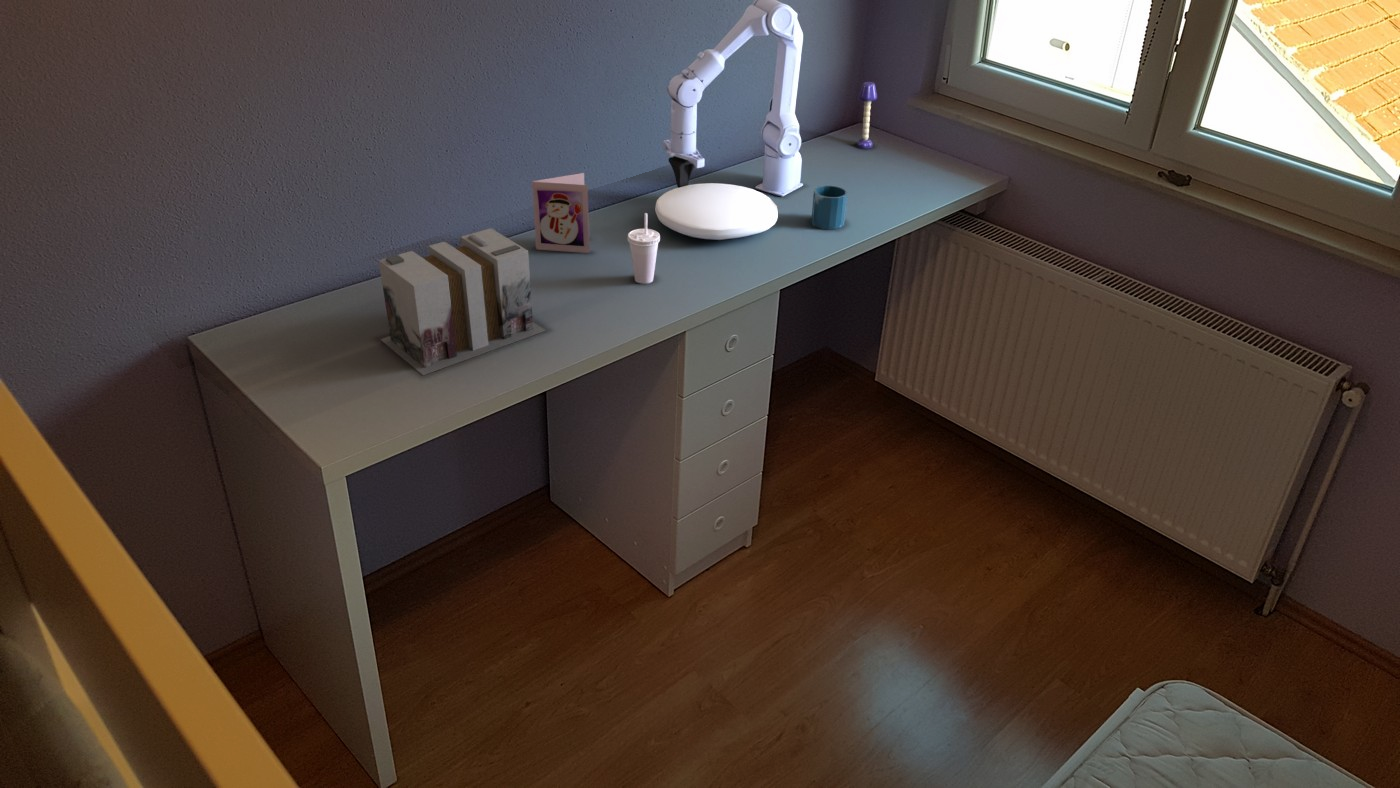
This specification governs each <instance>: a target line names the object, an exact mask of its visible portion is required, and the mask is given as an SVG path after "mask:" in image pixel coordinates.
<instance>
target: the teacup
mask: <svg viewBox="0 0 1400 788" xmlns="http://www.w3.org/2000/svg"><path fill="white" fill-rule="evenodd" d="M847 199H848V190H846V189H845V188H844V187H842V186H837V185H831V184H830V185H825V184H824V185H820V186H817V187H815V188H814V190H813V195H812V210H811V219H810V220H811V221H810V222H811V225H812V226H814V227H816V228H818V229H821V230H826V231H827V230H828V231H833V230H839V229H841V228H843V227H844V225H845V221H846V213H847V212H846V211H847V201H848V200H847Z"/></svg>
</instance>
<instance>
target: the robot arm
mask: <svg viewBox="0 0 1400 788" xmlns="http://www.w3.org/2000/svg"><path fill="white" fill-rule="evenodd" d="M798 16H799V15H798V12H796V11H795V9H793V8H792V7H791V6H790V5H788V4H786V3H783V2H781V1H780V0H779V1H778V0H754V1H753V3H752V4H750V5H748V7H746V9H745V11H744V13H743V15H742V17H740V19H739V20H738V21H737V22H736V23H735V25H734V26H733V27H732V28H731V29H730V30H729V31H728V33H726V35H725V36H724V37H723V38H722V39H721V40H720V42H719V43H718V44H717V45H716V46H715V47H714V48H712V49H711V48H710V49H708V48H707V49H705V50H703V51H699V52H698V53H697V55H696V56H697V58H696V59H695V60H694V61H693V62H692V63H691V64H690V65H689V66H688V67H687V68H684V69H683V70H681V73H680V74H677V75H675V76H673V77H672V78H671V79H670V81H669V84H668V86H667V87H666V92H667V94H668V96H669V97H670V99H671V101H670V105H671V106H670V108H671V110H670V139H665V140H663V141H662V149H663V150H664V151H666V155H667V156H669V157H668V163H669V165H670V166H671V168H672V171H673V174H674V178H675V183H676V186H677V187H676V188H679V187H683V186H687V185H690V180H691V177H692V175H693V172H694V170H695V169H699V168H704V167H705V161H706V160H705V158H704V157H703V156H702V155H701V153H700V152H699V150H698V149H697V127H698V126H697V125H698V117H697V116H698V103H699V102H700V101H701V99H702V97H703V92H704V91H705V89H706V88H707V87H708V86H709V85H710V84H711V83H712V82H713V81H714V80H715V79H716V78H717V77H718V76H719V75H720V74H721V73H722V72H723V71H724V70H725V62H726V60H727V59H729V57H731V56H732V55H733V54H734V53H735V52H736V51H738V50H739V48H741V47H742V46H743V45H745V43H747V42H748V41H749V39H751V38H752V37H759V36H769V35H770V34H771V35H772V36H773V37H774V39H776V41H777V51H776V60H775V61H776V62H775V70H774V80H773V92H772V100H771V109H770V111H769V112H768V113H767V114H766V115H765V119H764V120H765V121H764V123H763V125H762V127H761V129H760V139H761V141H762V142H763V144H764V154H763V170H762V171H763V173H762V182H761V183H760V184H758V185H756V186H754V190H758V191H761V192H766V193H769V194H772V195H775V196H779V197H785V196H787V195H788V194H790V193H792V192H794V191H796V190H797V189H799V188H801V187H803V186H804V183H802V182H801V177H802V164H803V160H802V156H801V153H800V152H799V150H800V149H801V146H802V138H801V135H800V124H799V121H798V119H797V116H796V104H797V97H798V88H799V80H800V79H799V78H800V71H801V70H800V69H801V60H802V51H803V44H804V43H803V42H804V33H803V30H802V28H801V25H800V23H799V20H798Z"/></svg>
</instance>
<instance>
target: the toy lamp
mask: <svg viewBox="0 0 1400 788" xmlns="http://www.w3.org/2000/svg"><path fill="white" fill-rule="evenodd" d="M876 87H877V86H876V84H875V82H873V81H865V82H863V84H862V86H861V89H860V92H859V95H858V99H859V100H860V101H863V103H864V105H863V118H862V122H863V123H862V131H861V132H862V135H861V138H859V140H858V141H857V142H856V146H855V147H857V148H859V149H863V150H864V149H865V150H869V149H872V148H873V146H874V145H873V142H872V140H871V139H869V138H870V137H869V133H870V121H871V117H870V116H871V108H872V105H871V104H872V102H874V101H877V99H878V93H877V88H876Z"/></svg>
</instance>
